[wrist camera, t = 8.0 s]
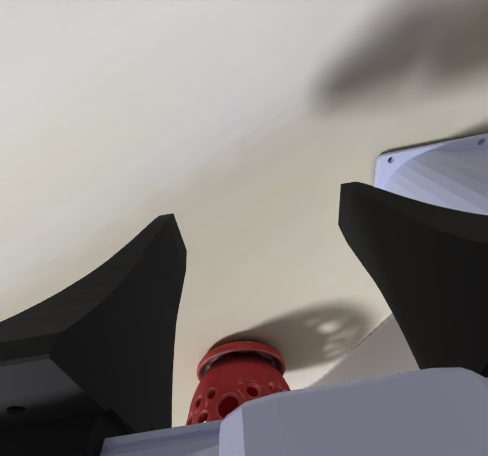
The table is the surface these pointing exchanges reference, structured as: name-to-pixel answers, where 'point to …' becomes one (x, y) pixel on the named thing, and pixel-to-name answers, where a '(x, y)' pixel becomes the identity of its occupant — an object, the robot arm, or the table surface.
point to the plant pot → (235, 379)
